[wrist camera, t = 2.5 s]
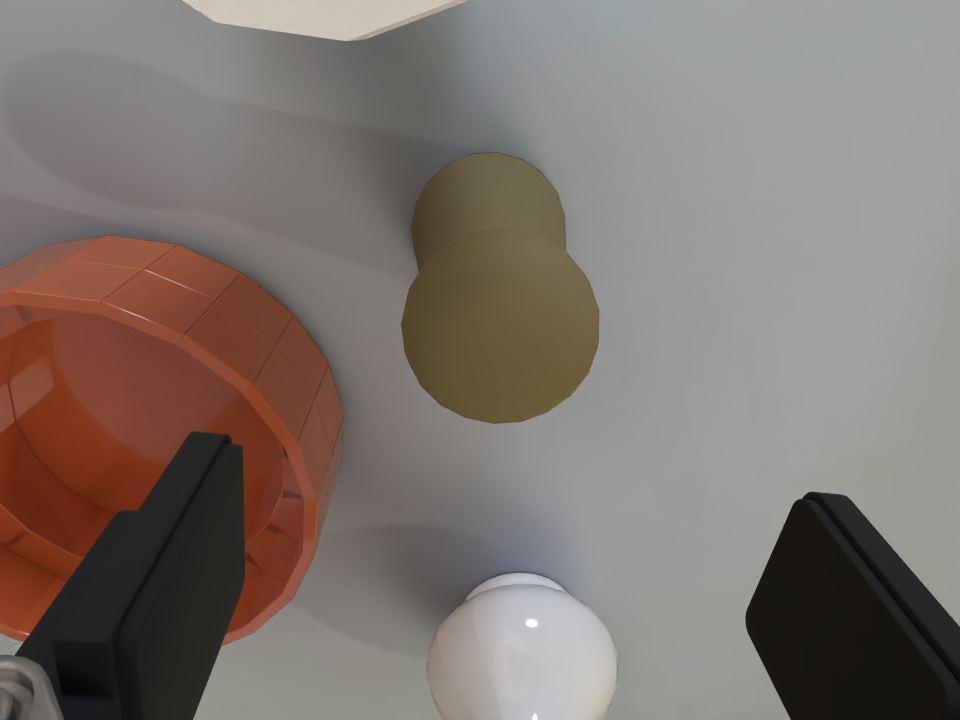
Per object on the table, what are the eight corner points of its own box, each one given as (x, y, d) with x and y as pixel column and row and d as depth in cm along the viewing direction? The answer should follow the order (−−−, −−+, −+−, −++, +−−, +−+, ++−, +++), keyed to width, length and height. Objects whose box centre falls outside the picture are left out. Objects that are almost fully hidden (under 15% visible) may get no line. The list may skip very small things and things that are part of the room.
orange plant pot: (-70, 205, 25) (-233, 258, 19) (357, 263, 26) (326, 329, 20) (3, 531, 32) (-100, 643, 26) (336, 563, 33) (309, 676, 27)
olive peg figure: (433, 317, 27) (416, 480, 17) (392, 173, 25) (344, 268, 15) (577, 286, 27) (642, 434, 17) (551, 134, 24) (611, 206, 14)
